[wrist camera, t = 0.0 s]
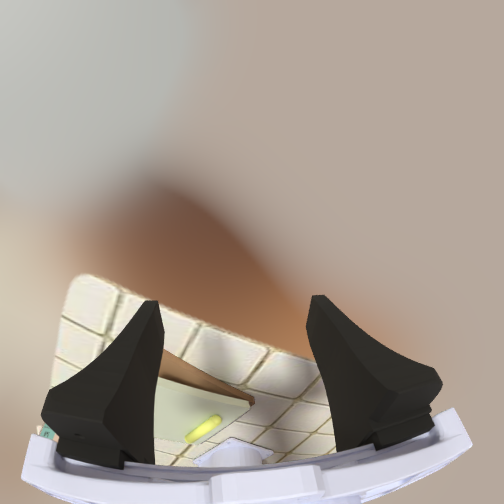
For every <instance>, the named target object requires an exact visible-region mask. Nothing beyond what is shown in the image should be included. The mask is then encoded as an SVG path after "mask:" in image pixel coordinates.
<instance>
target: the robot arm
mask: <svg viewBox="0 0 504 504" xmlns="http://www.w3.org/2000/svg"><path fill="white" fill-rule="evenodd" d="M306 330H307V335H308V339H309V343H310V347H311V349H312V352H313V355H314V358H315V360H316V363H317V366H318V368H319V371H320V374H321V376H322V379H323V382H324V385H325V389H326V393H327V397H328V402H329V406H330V411H331V417H332V422H333V428H334V435H335V442H336V451H337V453H333V454H328V455H323V456H318V457H313V458H307V459H302V460H295V461H288V462H281V463H273V464H263V465H262V460H264V459H265V458H267V457H269V456H271V455H272V454H273V451H272V450H269V449H265V448H262V447H259V446H256V445H253V444H250V443H247V442H244V441H241V440H238V439H235V438H229V439H227V440H225V441H224V442H222V443H221V444H219V445H218V446H216V447H214V448H213V449H211V450H209V451H208V452H206V453H205V454H203V455H201V456H199V457H198V458H196V459H194V460H193V463H194V464H197V465H198V467H178V466H163V465H155V454H154V405H155V392H156V386H157V381H158V375H159V370H160V365H161V360H162V355H163V347H164V334H165V331H164V327H163V323H162V318H161V313H160V309H159V304H158V301H145V302H144V303H143V304H142V305H141V307H140V308H139V309H138V311H137V312H136V314H135V315H134V316H133V318H132V319H131V320H130V322H129V323H128V324H127V325H126V327H125V328H124V329H123V330H122V332H121V333H120V334H119V335H118V336H117V337H116V339H115V340H114V341H113V342H112V343H111V344H110V345H109V346H108V348H107V349H106V350H105V351H104V352H103V353H101V354H100V355H99V356H98V357H97V358H96V359H95V360H94V361H92V362H91V363H90V364H89V365H88V366H86V367H85V368H84V369H83V370H81V371H80V372H78V373H77V374H76V375H74V376H73V377H71V378H69V379H68V380H66V381H65V382H63V383H61V384H59V385H57V386H55V387H54V388H52V389H50V390H49V392H48V394H47V397H46V400H45V403H44V406H43V409H42V412H41V417H42V419H43V421H44V422H45V423H46V424H47V425H48V426H49V427H50V428H51V429H52V430H53V431H54V432H55V433H56V434H57V435H58V436H59V439H58V443H57V442H56V441H54V440H52V439H49V438H46V437H43V436H39V435H36V434H32V435H31V438H30V442H29V445H28V449H27V453H26V457H25V461H24V466H23V470H22V475H21V478H22V480H24V481H25V482H27V483H29V484H30V485H32V486H34V487H36V488H37V489H39V490H41V491H43V492H45V493H47V494H49V495H51V496H53V497H56V498H58V499H61V500H64V501H67V502H70V503H73V504H362V503H365V502H367V501H370V500H373V499H376V498H378V497H381V496H383V495H386V494H388V493H391V492H393V491H395V490H398V489H400V488H402V487H405V486H407V485H409V484H411V483H413V482H415V481H417V480H420V479H422V478H424V477H426V476H428V475H430V474H431V473H434V472H435V471H437V470H439V469H441V468H443V467H445V466H446V465H448V464H449V463H451V462H452V461H453V460H455V459H456V458H457V457H459V456H460V455H461V454H463V453H464V452H465V451H467V450H468V449H469V448H471V447H472V445H473V444H472V442H471V440H470V438H469V436H468V434H467V432H466V430H465V428H464V426H463V424H462V422H461V420H460V418H459V416H458V414H457V413H456V411H455V409H454V408H453V407H452V408H450V409H448V410H445V411H443V412H441V413H439V414H437V415H435V416H434V417H432V418H431V416H430V414H429V413H430V412H431V411H432V409H431V407H430V405H429V404H430V403H431V402H432V401H433V400H434V398H435V397H436V396H437V395H438V393H439V392H440V390H441V388H442V385H443V384H442V381H441V379H440V377H439V376H438V374H437V372H436V371H435V369H434V368H432V367H429V366H426V365H423V364H420V363H418V362H415V361H413V360H411V359H408V358H406V357H404V356H402V355H400V354H398V353H396V352H394V351H393V350H390V349H389V348H387V347H385V346H384V345H382V344H381V343H380V342H378V341H377V340H375V339H374V338H372V337H371V336H370V335H368V334H367V333H366V332H364V331H363V330H362V329H361V328H359V327H358V326H357V325H356V324H355V323H353V322H352V321H351V320H350V319H349V318H348V317H347V316H346V315H345V314H344V313H343V312H341V311H340V310H339V309H338V308H337V307H336V306H335V305H334V304H333V303H332V302H331V301H330V300H329V299H328V298H327V297H326V296H325V295H314V296H312V299H311V304H310V309H309V314H308V319H307V323H306Z"/></svg>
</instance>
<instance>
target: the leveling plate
mask: <svg viewBox="0 0 504 504" xmlns="http://www.w3.org/2000/svg"><path fill="white" fill-rule="evenodd" d="M250 409H251V408H250V405H249V402H248V401H245V400H241V399H236V398H232V397H228V396H223V395H219V394H215V393H211V392H208V391H204V390H200V389H197V388H193V387H189V386H186V385H183V384H179V383H176V382H173V381H170V380H167V379H163V378H160V377H158V381H157V386H156V392H155V405H154V438H157V439H162V440H168V441H173V442H180V443H186V444H193V445H199V444H202V443H203V442H205V441H206V440H208V439H209V438H211V437H212V436H214V435H215V434H217V433H218V432H220V431H221V430H223V429H224V428H226V427H227V426H228V425H230V424H231V423H233V422H234V421H236V420H237V419H238V418H240V417H241V416H242V415H244V414H245V413H247V412H248V411H249V410H250Z"/></svg>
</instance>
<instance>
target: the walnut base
mask: <svg viewBox="0 0 504 504" xmlns="http://www.w3.org/2000/svg"><path fill="white" fill-rule="evenodd" d="M158 377H160V378H163V379H167V380H170V381H173V382H176V383H179V384H183V385H186V386H189V387H193V388H197V389H200V390H204V391H208V392H211V393H215V394H219V395H223V396H228V397H232V398H236V399H241V400H245V401H248V402H249V405H250V407H251V406H252V405H254V404H255V401H254V397H253V396H250V395H248V394H246V393H244V392H242V391H240V390H238V389H236V388H234V387H232V386H230V385H228V384H226V383H224V382H222V381H220V380H218V379H216V378H214V377H212V376H210V375H208V374H207V373H205V372H203V371H201V370H199V369H197V368H196V367H194V366H192V365H190V364H188V363H187V362H185V361H183V360H181V359H180V358H178V357H176V356H175V355H173V354H171V353H170V352H168V351H166V350H165V349H163V355H162V360H161V365H160V370H159V375H158Z"/></svg>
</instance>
